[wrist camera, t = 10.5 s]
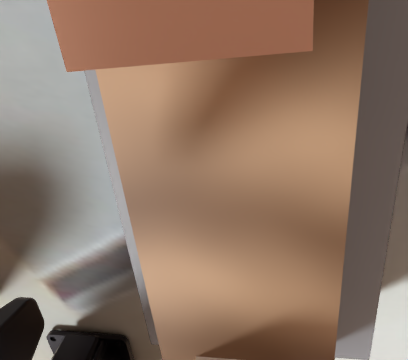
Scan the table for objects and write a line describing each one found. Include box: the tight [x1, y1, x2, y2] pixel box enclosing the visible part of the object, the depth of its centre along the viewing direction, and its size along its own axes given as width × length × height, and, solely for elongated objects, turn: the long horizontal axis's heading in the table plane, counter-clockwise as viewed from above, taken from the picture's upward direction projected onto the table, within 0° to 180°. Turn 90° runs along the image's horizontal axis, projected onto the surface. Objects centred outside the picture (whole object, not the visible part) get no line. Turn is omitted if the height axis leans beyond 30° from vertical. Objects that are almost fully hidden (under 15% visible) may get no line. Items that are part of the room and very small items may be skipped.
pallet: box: [95, 0, 369, 360], centre depth 14 cm, size 21×7×4 cm, turn 6°
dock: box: [84, 0, 408, 360], centre depth 17 cm, size 23×12×4 cm, turn 6°
